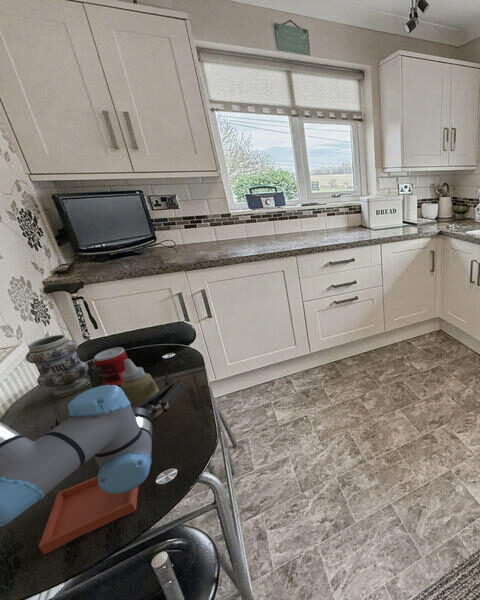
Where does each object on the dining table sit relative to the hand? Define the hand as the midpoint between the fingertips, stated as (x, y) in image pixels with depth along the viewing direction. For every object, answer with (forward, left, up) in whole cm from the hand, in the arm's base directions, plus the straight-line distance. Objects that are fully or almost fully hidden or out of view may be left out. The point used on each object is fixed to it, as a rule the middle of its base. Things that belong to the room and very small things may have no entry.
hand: (138, 386), depth 88 cm
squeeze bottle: (0, 0, -10) cm, 10 cm away
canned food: (-9, +29, -10) cm, 32 cm away
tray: (-8, -28, -10) cm, 30 cm away
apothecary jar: (-23, +36, -10) cm, 44 cm away
